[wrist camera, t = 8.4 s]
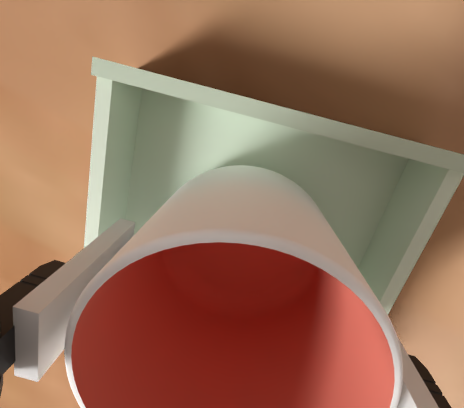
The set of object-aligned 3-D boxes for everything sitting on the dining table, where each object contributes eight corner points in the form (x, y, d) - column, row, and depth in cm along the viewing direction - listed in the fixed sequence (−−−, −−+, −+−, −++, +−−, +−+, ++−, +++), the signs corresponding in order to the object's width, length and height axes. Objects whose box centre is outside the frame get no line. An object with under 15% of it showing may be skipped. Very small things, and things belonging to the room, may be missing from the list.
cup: (356, 207, 17) (488, 335, 7) (274, 329, 20) (293, 531, 10) (200, 130, 16) (121, 160, 7) (141, 269, 19) (29, 426, 10)
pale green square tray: (136, 68, 16) (92, 56, 12) (423, 144, 16) (481, 159, 12) (108, 302, 22) (72, 350, 17) (320, 360, 21) (335, 422, 17)
